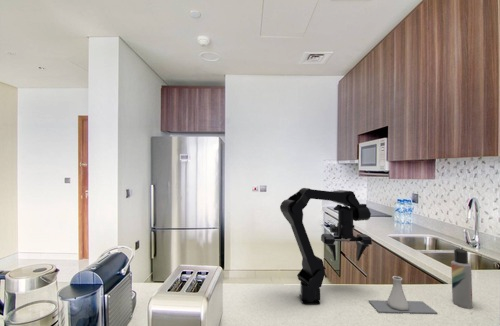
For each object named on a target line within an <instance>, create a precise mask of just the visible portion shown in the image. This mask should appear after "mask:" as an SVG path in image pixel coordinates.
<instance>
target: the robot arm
mask: <svg viewBox="0 0 500 326" xmlns="http://www.w3.org/2000/svg"><path fill="white" fill-rule="evenodd" d="M311 199H312V200H313V199H314V200H320V201H321V200H323V201H330V202H333V203H336V206H335V207H334V208H333V210H334V211H337V214H338V215H337V218H338V219H337V225H336V224H330V225H329V232H330V233H322V234H321V236H320V241H322V243H323V244H324V245H326V246H328V248H329V250H330V252H331V256H332V258H333V261H336V259H337V254H336V253H337V251H336V244H335V242H355V243H356V244H355V245H356V257H355V258H356V261H357V262H359V261H360V259H361V257H362V256H363V253H364V251H365V250H366V248H367V247H370V246H369V245H373V239H372V237H371V236H370V235H367V234H365V233H362V234H361V233H359V234H358V233H356V235H354V229H355V224H354V221H355V222H357V221H359V222H360V221H368V220H369V219H371V216H372V215H371V214H372V212H371V211H370V209H369V208H368V206H367V203H360V201H359V200H358V198H357V196H356V194H355V192H354V191H352V190H344V189H339V190H338V189H337V190H331V191H329V190H320V189H312V188H307V187H302V188H300V189H299V190H298V191H297V192H296V193H294V194H292V195H290V196H288V198H287V199H284V200H283V201H282V202H281V203H280V206H279V207H280V208H279V209H280V211H281V213H282V215H283V216H284V218H285V219H286V221H287V222H288V224H289V225H290V227H291V230H292V232H293V236H294V238H295V241H296V244H297V246H298V250H299V251H300V256H301V257H302V260H301V266H302V268H301V269H300V271H299V272H298V274H297V279H298V281H300V294H299V299H300V301H301V303H302V305H321V302H320V301H321V289H320V288H321V287H322V285H323V280H324V278H325V276H326V270H327V268H326V267H325V266H324V261H323V258H320V257H318V256H316V255H315V253H314V250H313V249H314V248H313V247H312V244H311V242H310V239H309V236H308V233H307V231H306V228H305V225H304V222H303V220H304V211H303V210H304V209H305V208H306V207H307V206H308V203H309V202H310V200H311ZM333 233H334V234H333Z"/></svg>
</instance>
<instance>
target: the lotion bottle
mask: <svg viewBox="0 0 500 326" xmlns="http://www.w3.org/2000/svg"><path fill="white" fill-rule="evenodd" d="M453 256H454V257H453V260H452V261H450V262H451V263H450V264H451V293H452V294H451V295H452V296H451V297H452V303H453V304H454V305H455V306H458V307H461V308H464V309H472V308H473V280H472V279H473V278H472V276H473V275H472V273H473V272H472V265H471V263H469V259H468V256H469V255H468V250H465V249H462V248H455V249H453Z"/></svg>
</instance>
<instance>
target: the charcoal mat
mask: <svg viewBox="0 0 500 326" xmlns="http://www.w3.org/2000/svg"><path fill="white" fill-rule="evenodd" d="M368 301H369V302H370V303H369V302H368V303H369V304H370V305H371V306H372V307H373V309H374V310H375V309H376V310H375V311H376V312H377V313H378V314H403V313H410V314H411V315H414V314H416V315H420V314H421V315H438V312H437V311H436V310H434V309H433V308H432V307H431V306H429V305H428V304H427V303H425V302H424V301H423V300H422V301H421V300H420V301H419V300H407V302H408V305H409V310H402V311H401V310H397V309H393V308H391V307H390V306H389V305H387V300H379V299H378V300H374V299H373V300H372V299H371V300H368ZM410 314H409V315H410Z"/></svg>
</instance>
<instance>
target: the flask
mask: <svg viewBox="0 0 500 326" xmlns="http://www.w3.org/2000/svg"><path fill="white" fill-rule="evenodd" d="M392 280H393V281H392V282H393V283H392V288H391V291H390V293H389V295H388V298H387V300H386V301H387V305H389V306H390V307H391V308H393V309H397V310H401V311H402V310H409V305H408V302H407V301H408V300H407V297H406V295H405V292H404V289H403V284H402V281H403V277H401V276H397V275H393V276H392Z"/></svg>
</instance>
